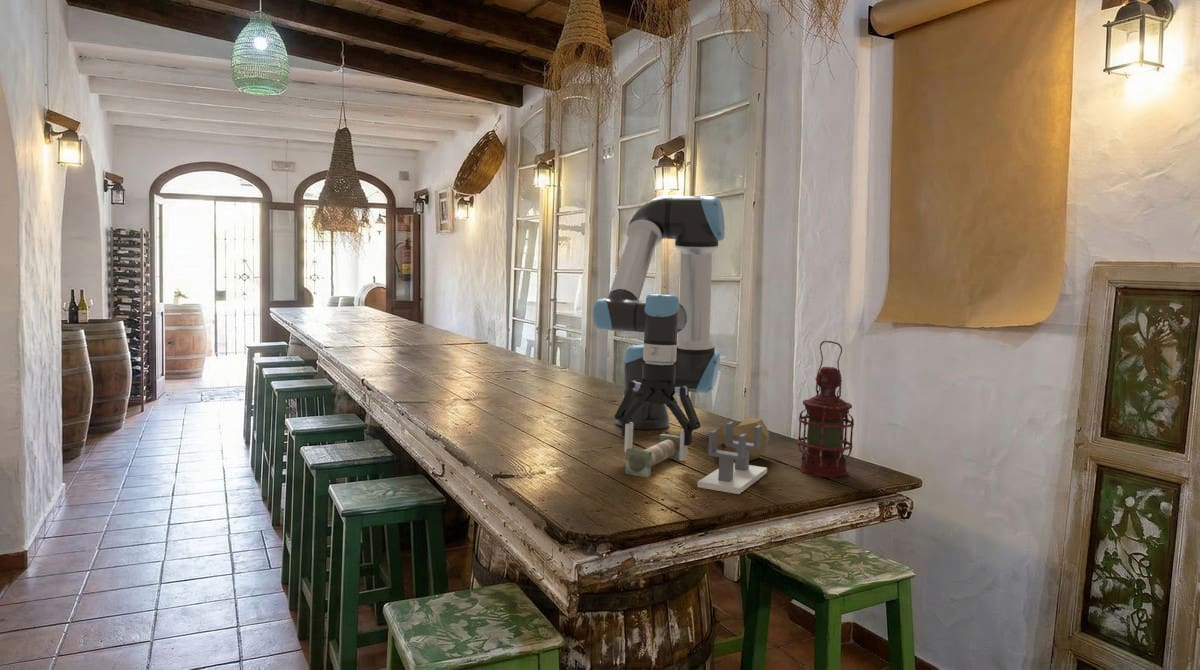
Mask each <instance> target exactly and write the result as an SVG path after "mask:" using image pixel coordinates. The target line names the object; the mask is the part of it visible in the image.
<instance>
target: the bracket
mask: <svg viewBox="0 0 1200 670" xmlns="http://www.w3.org/2000/svg"><path fill="white" fill-rule="evenodd" d="M734 425H735V422H734V421H729V422H727V423H726V424H725V426H726V442H725V446H730V447H736V453H735V452H728V451H721V450H717V430H718V429H717V430H716V429H712V430H711V431H709V433H708V434H709V435H708V449H707V451H708V454H707V456H709V457H716V458H719V460H718V468H717V469H716V470H714V471H712V472H711V473H709V474H707V475H705V476H704V477H702V478H700V479H699V480H698V481H697V488H701V489H707V490H711V491H712V490H713V491H719V492H724V493H730V494H736V495H740V494H741V492H742V493H743V492H744V491H745V490H747V489H749V487H750V486H752V485H753V484H755V483H756V482H757V481H759V480H760V479H761V478H762V477H764V476H765V475H766V474H767V473H768V467H765V466H758V465H753V464H750V461H749V452H750V449H751V450H758V449H760V448H761V431H762V426H760V425H758V426H756V427H755V428H754V443H747V442H746V437H747V434H742V435H740V436H739V441H733V430H734Z"/></svg>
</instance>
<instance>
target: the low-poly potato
mask: <svg viewBox="0 0 1200 670" xmlns="http://www.w3.org/2000/svg"><path fill="white" fill-rule="evenodd" d="M758 425H760V426H762V431H761V448H760V449H758V450H751V449H750V452H749V462H750V461H753V460H756V459H758V458H759V457H760V456H761V455H763V453H764V452H765V451H766V450H767V447H768V444H769V442H770V431H769V429H768V427H767V426H766V425H765V422H764V421H763V419H762V418H755V417H747V416H746V418H745V419H744V420H742V421H741V422H740V423H739V424H738V425H737V426H736V425H735V426H734V430H733V441H739V436H740V435H742V434H747V437H746V442H747V443H754V428H755V427H756V426H758ZM725 442H726V425H725V426H724V425H721V426H720V427H719V428H718V429H717V449H716V450H721V451H728V452H735V453H736V447H730V446H725Z"/></svg>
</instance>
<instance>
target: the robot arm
mask: <svg viewBox="0 0 1200 670" xmlns="http://www.w3.org/2000/svg"><path fill="white" fill-rule="evenodd" d="M725 229H726V228H725V216H724V209H723V205H722V203H721V200H720V199H719V198H717V196H710V195H709V196H708V195H661V196H657V197H655V198H653V199H651V200H649V201H647V202H646V203H644V204H643V205H642V206H641V207H639V209H638V210H637V211H636V212H635V213H634V214H633V216H632V218H631V219H630V221H629V223H628V226H627V229H626V237H627V241H626V243H625V246H624V249H623V252H622V254H621V258H620V261H619V264H618V265H617V270H616V272H615V276H614V278H613V282H612V285H611V288H610V290H609V293H608V296H607V298H606V297H604V298H598V299H597V300H595V302H594V305H593V309H592V312H593V313H592V319H593V322H594V327H596V328H597V329H599V330H605V331H612V332H615V331H617V332H619V331H621V332H636V333H637V332H638V333H644V334H643V335H644V336H643V343H642V344H635V345H631V346H629V347H627V348H626V350H625V355H624V356H625V357H624V361H623V362H624V363H623V365H624V368H623V369H624V370H623V372H624V373H623V375H624V376H623V396H622V400H621V403H620V405H619V407H618V409H617V411H616V413H615V414H614V419H615V420H616V421H615V423H616V425H617V426H620V427H621V436H622V437H623V438H624V452H625V453H626V449H628V448H632V449H633V440H634V429H635V430H660V429H661V430H662V429H666V428H668V427H669V426H670V415H669V412H668V409H669V410H670V411H671V413H672V415H673V416H674V417H675V419H676V420H677V422H678V423H679V425H680V426H681V428H682V429H683V430H681V431H680V432H679V433H680V434H679V436H680V454H679V460H678V461H681V462H682V461H685V460H687V459H688V446H691V445H692V440H693V439H692V438H693V436H692V435H693V431H696V430H698V429H700V428H701V423H700V420H699V418H698V415H697V413H696V410H695V407H694V405H693V403H692V400H691V397H690V393H695V394H697V393H701V394H702V393H704V394H705V393H706V394H707V393H710V392H712V391H713V390H714V387H715V386H716V382H717V378H718V374H719V369H720V363H721V362H720V361H721V353H720V352H719V351H715V349H716V348H715V346H716V345H715V344H714V342H713V341H712V340H711V338H710V337H711V336H710V333H711V331H710V330H711V329H710V328H711V306H712V305H711V304H712V303H711V301H712V300H711V298H712V271H713V253H714V252H715V250H717V248H719V242H722V241H723V240H724V238H725ZM664 239H667V240H674V241H675V242H674V246H675V248H676V249H677V250H678V251H679V253H680V259H679V261H680V265H679V296H677V295H675V294H664V293H663V294H662V293H649V294H647V296H646V298H645V300H640V296H641V295H642V291H643V288H644V285H645V281H646V278H647V274H648V271H649V268H650V265H651V262H652V258H653V255H654V251H655V248H656V247H658V245H659V244H660V243H661V241H662V240H664ZM675 394H677V396H678V397H679V399H680V402H681V405H682V406H683V409H684V411H685V413H684V411H683V410H682V409H681V406H679V404H678V401H677V399H676V398H675V397H674V395H675ZM667 408H668V409H667Z"/></svg>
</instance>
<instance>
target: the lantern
mask: <svg viewBox="0 0 1200 670" xmlns="http://www.w3.org/2000/svg"><path fill="white" fill-rule="evenodd" d="M825 343H827V344H828V343H830V344H834V345H837V346H839V348H840V351H839V352H840V353H839V355H838V359H837V361H836V363H837V368H836V367H835V366H834V367H833V366H823V362H824V360H823V359H824V356H823V352H822V345H823V344H825ZM819 351H820V357H821V360H820V365H819V368H818V370H817V373H816V377H815V381H816V382H815V383H816V384H815V391H816V395H815V396H813V397H810V398H809V399H804V400H802V405H803V406H804V408H805V409H803V410H801V411H800V413H799V416H798V421H799V423H798V424H799V425H798V427H799V428H798V437H797V447H798V450H799V451H800V452H801V457H800V458H801V463H800V466H799V471H800V472H802V473H803V474H806V475H810V476H814V477H818V478H819V477H820V478H831V479H832V478H833V479H834V478H835V479H836V478H842V477H845V476H847V474H848V471H847V459H848V458H849V457H850V456H851V454H852V451H853V448H854V447H853V433H854V432H853V430H854V426H855V422H854V421H855V420H854V417H853V416H852V415H850V409H852V408H853V404H852V403H850V402H846V401H845V400H843V399H842V398H841V396H842V382H843V380H842V374H841V371H840V366H839V365H840V363H839V362H840V359H841V356H842V353H843V347H842V345H841V344H840V343H839V342H835V341H831V340H822V341H821V342H820V344H819ZM837 389H838V390H837ZM836 390H837V392H836ZM804 412H806V414H805V415H804V416H803V415H802V414H803V413H804ZM849 417H850V419H851V420H850V419H849ZM848 423H849V424H848ZM802 424H803V437H801V435H802V433H801V429H802ZM848 428H850V438H849V441H848V440H847V431H848ZM806 430H807V432H806ZM806 433H807V434H806ZM801 441H802V442H801ZM847 445H848V446H847ZM801 448H802V449H801ZM806 448H807V449H806ZM847 450H849V451H848V454H847V456H845V455H844V453H845V451H847Z"/></svg>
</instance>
